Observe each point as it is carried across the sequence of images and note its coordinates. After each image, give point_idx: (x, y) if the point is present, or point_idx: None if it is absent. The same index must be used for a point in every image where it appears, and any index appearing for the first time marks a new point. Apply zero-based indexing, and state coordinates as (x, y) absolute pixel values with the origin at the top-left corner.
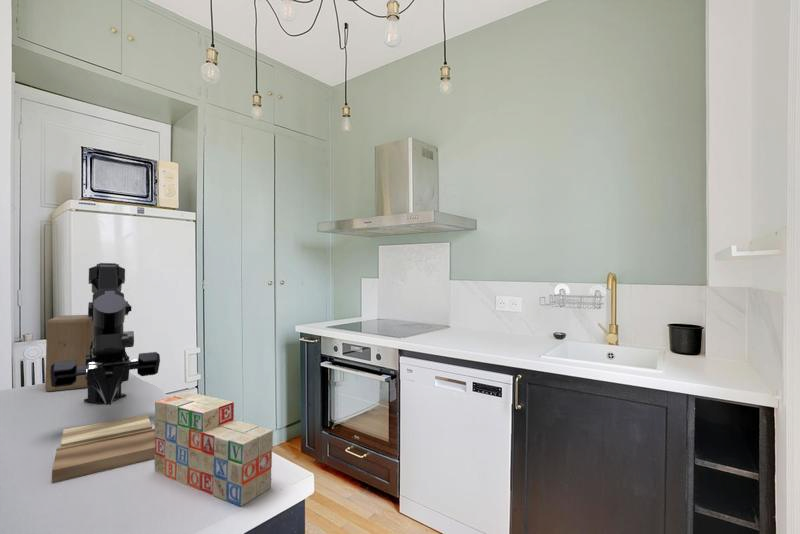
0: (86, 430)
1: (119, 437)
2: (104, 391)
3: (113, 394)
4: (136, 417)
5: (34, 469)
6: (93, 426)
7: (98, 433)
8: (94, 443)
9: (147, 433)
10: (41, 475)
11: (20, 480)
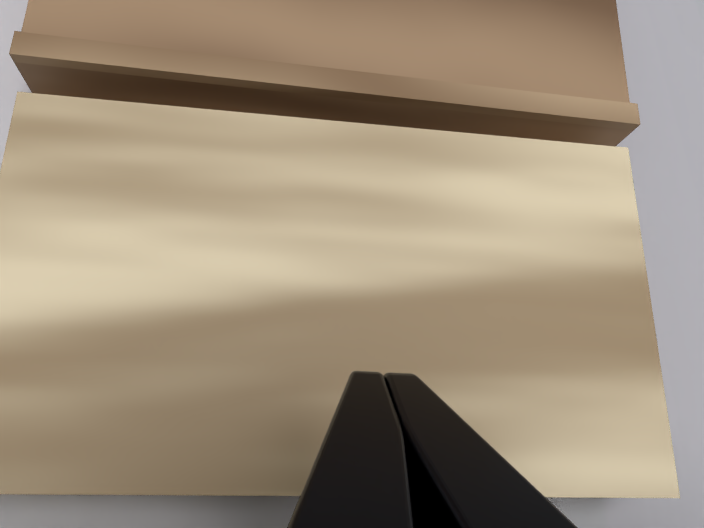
0: (501, 335)
1: (279, 68)
2: (499, 487)
3: (328, 427)
4: (64, 448)
5: (670, 125)
6: None
7: (414, 200)
8: (431, 79)
9: (87, 29)
10: (622, 31)
11: (694, 38)
